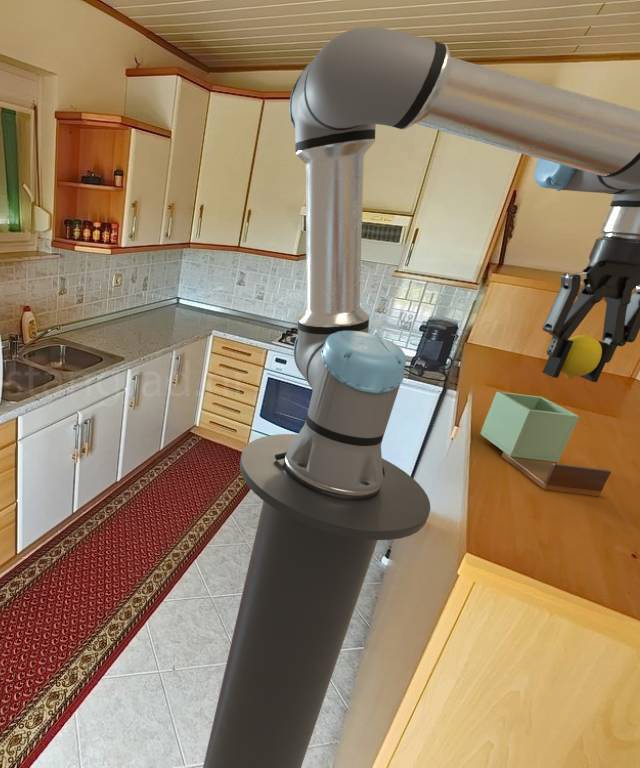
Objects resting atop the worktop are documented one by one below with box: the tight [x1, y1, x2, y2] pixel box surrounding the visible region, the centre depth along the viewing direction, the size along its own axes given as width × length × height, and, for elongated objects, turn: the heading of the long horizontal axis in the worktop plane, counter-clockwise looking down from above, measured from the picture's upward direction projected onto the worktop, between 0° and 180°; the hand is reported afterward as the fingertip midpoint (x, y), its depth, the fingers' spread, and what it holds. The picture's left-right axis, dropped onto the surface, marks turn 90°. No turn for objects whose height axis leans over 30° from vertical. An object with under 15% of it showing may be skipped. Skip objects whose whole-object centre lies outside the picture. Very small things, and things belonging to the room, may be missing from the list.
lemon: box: [560, 333, 602, 380], centre depth 83 cm, size 6×6×8 cm
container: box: [479, 391, 580, 463], centre depth 97 cm, size 10×9×10 cm
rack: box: [501, 451, 612, 497], centre depth 90 cm, size 12×9×5 cm
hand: (569, 376), depth 84 cm, fingers closed on lemon, 5 cm apart
